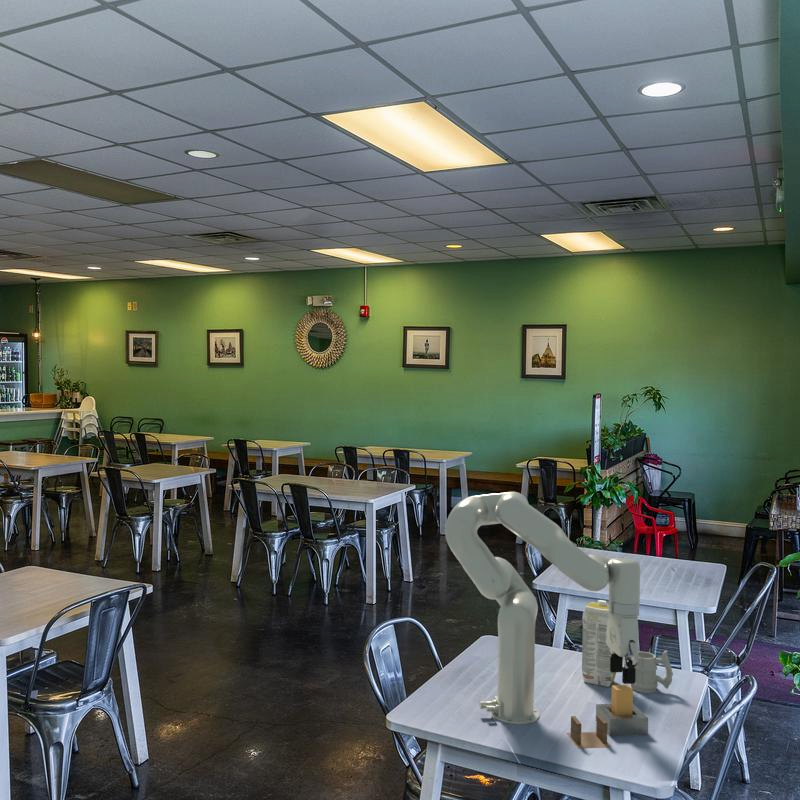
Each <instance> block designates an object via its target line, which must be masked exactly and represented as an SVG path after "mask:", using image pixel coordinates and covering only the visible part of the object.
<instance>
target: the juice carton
mask: <svg viewBox="0 0 800 800" xmlns="http://www.w3.org/2000/svg"><path fill="white" fill-rule="evenodd" d="M608 614H609V604H607V601H606V600H602V599H599V600H597V602H594V601H590V602H589V603H587V604H586V605H584V611H583V616H582V647H581V648H582V650H581V652H582V653H581V671H582V679H583V682H584V683H587V684H592V685H597V686H601V687H606V688H609V687H610V686H612V684H613V683H614V681H615V678H616V674H617V672H611V671H610V648H609V647H608V646H607V645H606V632H607V620H608Z"/></svg>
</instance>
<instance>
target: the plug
mask: <svg viewBox="0 0 800 800" xmlns="http://www.w3.org/2000/svg"><path fill="white" fill-rule="evenodd" d="M610 700H611V702H610V704H611V713H612V714H613V715H633V704H634V689H632V688H631V685H630V684H620V685H619V684H618V685H617V684H616V685H612V684H611V699H610Z"/></svg>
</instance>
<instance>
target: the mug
mask: <svg viewBox="0 0 800 800" xmlns="http://www.w3.org/2000/svg"><path fill="white" fill-rule="evenodd" d="M638 656H639V660H638V662H637V665H636V674H635V683H634V684H630V687H631V688H632V689H633V691H636V692H638V693H643V694H654V693H655V692H656V691H657V688H658V683H660V684H661V685H662V686H663V687H664V688H665V689H669V687H670V685H672V682H673V675H674V673H673V669H672V665H671V662H670V660H669V659H670V658H669V657H668V650H664V651H663V652H662V654H661V656H660V657H656V655H655V654H653V653H651V652H649V651H639V650H638ZM657 663H660V664H662V665H663V667H664V668H665V670H666V671H665V672H666V673H665V676H663V677H661V676H660V675H657V670H658V665H657Z"/></svg>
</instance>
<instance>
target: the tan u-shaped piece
mask: <svg viewBox="0 0 800 800" xmlns="http://www.w3.org/2000/svg"><path fill="white" fill-rule="evenodd" d="M595 721H596V720H595ZM595 724H596V726H595V727H596V728H595V729H596V730H595V731H590V732H589V731H588V732H582V723H581V722H580V720H579V719H578V718H577V717H576V716H575V715H571V716H570V732H567V733H566V735H567V736H568V737H569V738H570V740H571V741H572V743H573V744H574V745H575V747H577V749H599V748H600V749H601V748H612V745H611V744H610V743H609V742H608V734H607V724H608V723H607V722H606V721H605V720H604V719H603V717H602V716H601V715H597V721H596V723H595Z"/></svg>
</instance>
